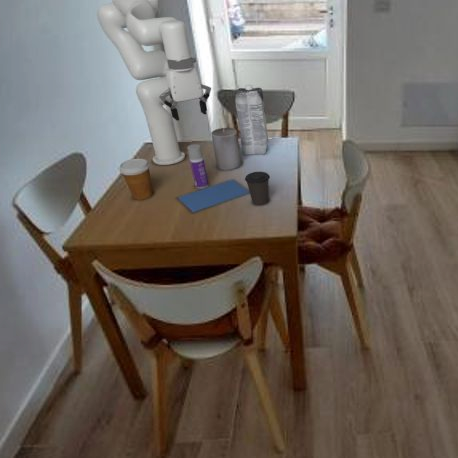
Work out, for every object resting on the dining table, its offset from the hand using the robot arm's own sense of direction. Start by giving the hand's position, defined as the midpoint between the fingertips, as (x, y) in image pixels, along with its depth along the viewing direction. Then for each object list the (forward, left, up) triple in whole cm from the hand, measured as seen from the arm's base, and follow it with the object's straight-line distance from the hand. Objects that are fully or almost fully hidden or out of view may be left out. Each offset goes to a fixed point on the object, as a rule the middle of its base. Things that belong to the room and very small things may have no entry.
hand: (190, 116), depth 146 cm
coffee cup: (+28, +8, -24) cm, 38 cm away
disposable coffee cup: (-3, -21, -24) cm, 32 cm away
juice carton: (-11, +29, -24) cm, 39 cm away
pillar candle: (-6, +14, -24) cm, 29 cm away
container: (+4, -2, -24) cm, 25 cm away
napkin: (+13, -2, -24) cm, 28 cm away
